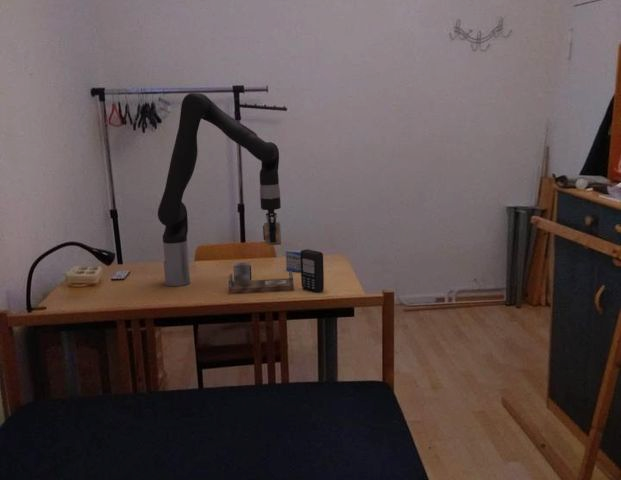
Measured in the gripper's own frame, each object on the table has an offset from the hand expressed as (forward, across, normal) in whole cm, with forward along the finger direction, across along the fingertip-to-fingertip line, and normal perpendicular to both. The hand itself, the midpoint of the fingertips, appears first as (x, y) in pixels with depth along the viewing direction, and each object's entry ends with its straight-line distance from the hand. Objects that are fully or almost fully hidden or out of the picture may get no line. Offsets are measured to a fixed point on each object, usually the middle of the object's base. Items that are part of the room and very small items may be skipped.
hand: (272, 240), depth 225 cm
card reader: (+18, +9, +13) cm, 24 cm away
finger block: (+1, 0, 0) cm, 1 cm away
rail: (+18, +3, -5) cm, 19 cm away
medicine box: (+18, -20, +10) cm, 29 cm away
